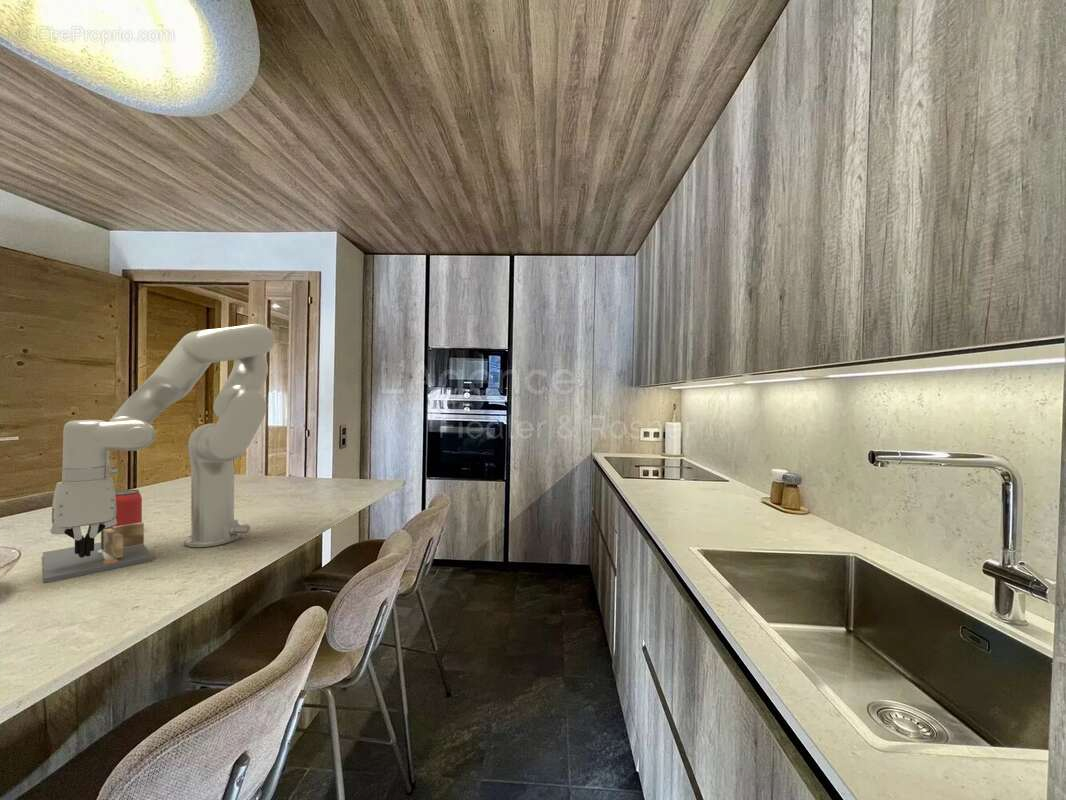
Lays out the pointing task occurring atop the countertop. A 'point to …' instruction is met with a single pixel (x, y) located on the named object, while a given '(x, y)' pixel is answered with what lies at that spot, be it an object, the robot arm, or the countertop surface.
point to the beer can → (128, 507)
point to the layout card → (89, 561)
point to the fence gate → (112, 542)
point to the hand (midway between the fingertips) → (84, 555)
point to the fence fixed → (131, 534)
